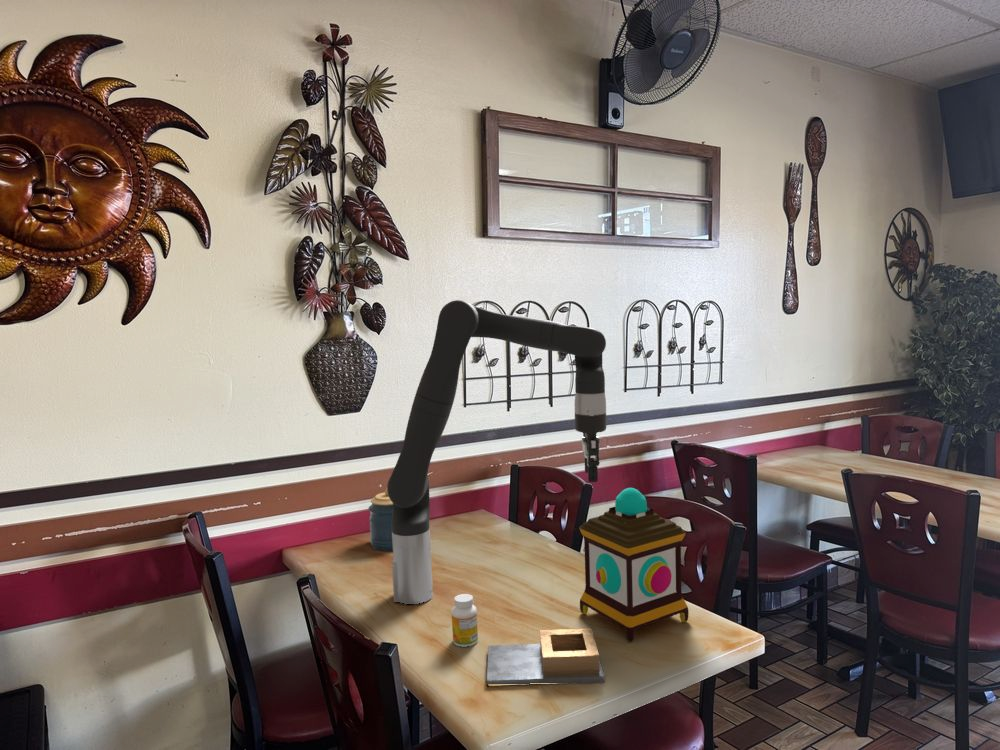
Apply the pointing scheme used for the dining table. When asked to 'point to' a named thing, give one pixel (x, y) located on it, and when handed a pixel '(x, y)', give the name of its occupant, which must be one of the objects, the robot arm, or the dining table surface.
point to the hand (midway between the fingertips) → (591, 477)
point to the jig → (547, 659)
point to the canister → (381, 522)
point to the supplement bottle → (464, 621)
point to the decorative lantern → (633, 565)
